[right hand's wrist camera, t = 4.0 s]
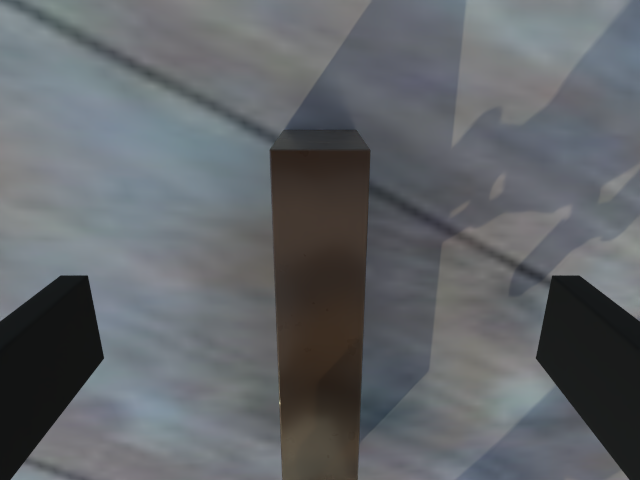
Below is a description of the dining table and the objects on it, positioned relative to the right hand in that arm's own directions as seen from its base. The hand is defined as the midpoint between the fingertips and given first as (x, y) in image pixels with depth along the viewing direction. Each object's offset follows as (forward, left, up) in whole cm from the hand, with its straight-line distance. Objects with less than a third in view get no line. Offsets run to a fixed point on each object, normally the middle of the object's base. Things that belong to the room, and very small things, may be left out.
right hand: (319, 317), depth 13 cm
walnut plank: (+10, 0, -17) cm, 19 cm away
